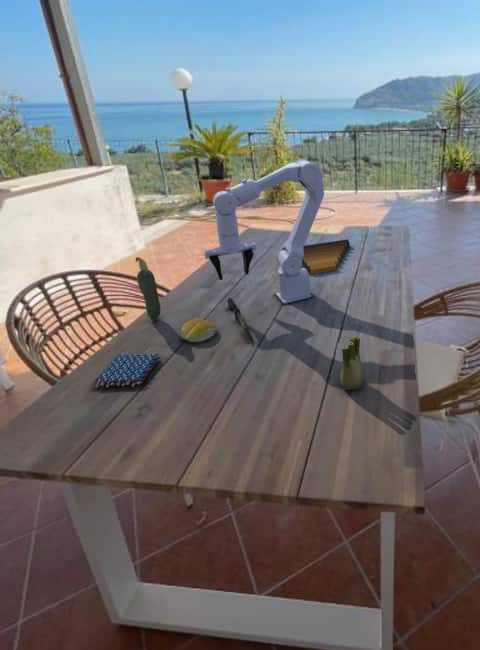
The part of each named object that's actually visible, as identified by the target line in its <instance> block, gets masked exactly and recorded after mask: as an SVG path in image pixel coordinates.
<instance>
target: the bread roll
mask: <svg viewBox="0 0 480 650" xmlns="http://www.w3.org/2000/svg"><path fill="white" fill-rule="evenodd" d="M216 331H217V326H216V324H215V323H213V322H211V321H209V320H208V321H207V320H206V319H203V318H193V319H190V320H187V322H186V323H184V324H183V326H182V328H181V330H180V335H181V337H182V339H183V340H184V341H187V342H189V343H201V342H202V343H203V342H204V341H207V340H209V339H211V338H212V337H213V336H214V335H215V334H216Z"/></svg>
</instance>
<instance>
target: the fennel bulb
mask: <svg viewBox="0 0 480 650" xmlns="http://www.w3.org/2000/svg"><path fill="white" fill-rule="evenodd" d="M360 345H361V337H360V335H355V336H354V337H350V338H349V341H348V346H346V345H342V346H341V352H342V368H341V370H340V371H341V372H340V377H339V378H340V384H341V387H342V388H343V390H344V391H354V390H355V391H356V390H358V389H360V388H361V387H362V386H363V384H364V375H363V367H362V360H361V355H360Z"/></svg>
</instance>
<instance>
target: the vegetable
mask: <svg viewBox="0 0 480 650" xmlns="http://www.w3.org/2000/svg"><path fill="white" fill-rule="evenodd" d="M135 263H138V267H139V271H138V272H137V274H136V282H137V285H138V288H139V290H140V293H141V295H142V297H143V300H144V303H145V309H146V315H147V316H148V317H149V319H150V321H154V322H155V321H156V320H158V318H159V317H160V315H161V303H160V298H159V293H158V289H157V282H156V278H155V275H154V273H153V271H152V270H150V269H148V268H149V267H148V264H147V262H146V261H145V260H144V259H143V258H142V257H139V256H136V257H135Z"/></svg>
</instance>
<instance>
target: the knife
mask: <svg viewBox="0 0 480 650" xmlns="http://www.w3.org/2000/svg"><path fill="white" fill-rule="evenodd" d="M227 305H228V310H229V311H233V313H234V318H235V320H236V321H237V322H239V323H240V326H241V328H242V330H243V332H244V335H245V336H246V338H247V340H248V341H249V342H251V341H252V339H251V336H250V334H249V330H248V329H247V326H246V325H245V322H244V320H243V318H242V314H241V309H239V308H238V307H237V304H236V303H235V301H234V298H232V297H229V298H228V299H227Z"/></svg>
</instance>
